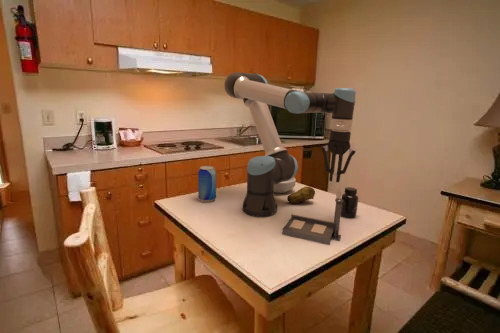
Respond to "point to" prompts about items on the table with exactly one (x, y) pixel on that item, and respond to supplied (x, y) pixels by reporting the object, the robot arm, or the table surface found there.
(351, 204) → the supplement bottle
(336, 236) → the post
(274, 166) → the robot arm
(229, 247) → the table surface
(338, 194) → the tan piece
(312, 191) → the potato
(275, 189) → the cereal bowl
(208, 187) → the beer can
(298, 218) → the metal plate with cutouts
